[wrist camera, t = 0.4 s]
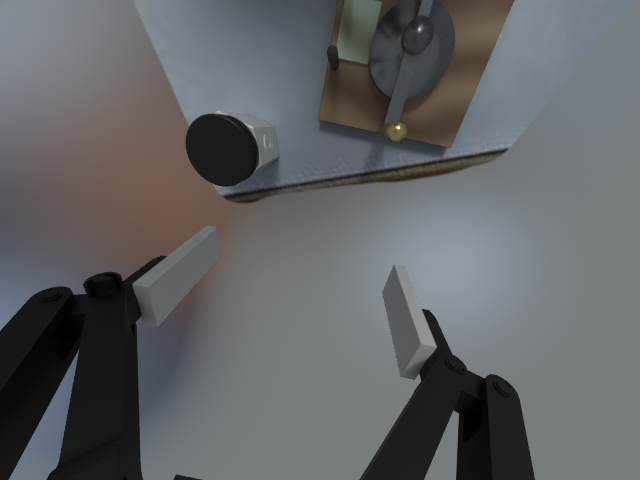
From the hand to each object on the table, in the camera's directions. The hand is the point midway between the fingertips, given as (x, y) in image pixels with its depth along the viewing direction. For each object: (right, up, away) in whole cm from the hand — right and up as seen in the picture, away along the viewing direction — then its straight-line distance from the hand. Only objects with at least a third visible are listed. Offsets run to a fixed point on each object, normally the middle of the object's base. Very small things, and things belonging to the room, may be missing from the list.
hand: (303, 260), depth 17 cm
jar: (-10, +17, +21) cm, 29 cm away
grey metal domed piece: (+12, +25, +12) cm, 30 cm away
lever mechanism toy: (+13, +27, +13) cm, 32 cm away
